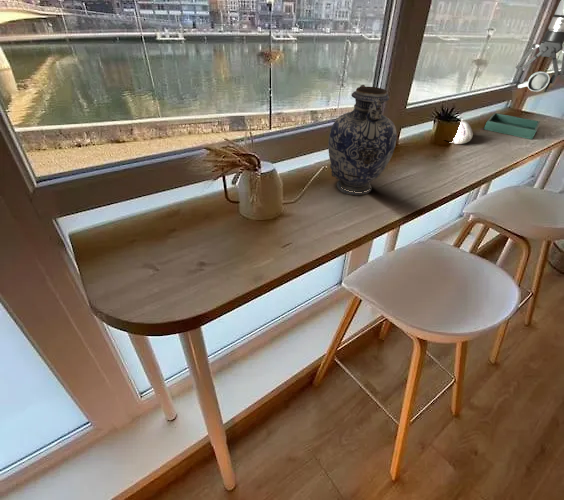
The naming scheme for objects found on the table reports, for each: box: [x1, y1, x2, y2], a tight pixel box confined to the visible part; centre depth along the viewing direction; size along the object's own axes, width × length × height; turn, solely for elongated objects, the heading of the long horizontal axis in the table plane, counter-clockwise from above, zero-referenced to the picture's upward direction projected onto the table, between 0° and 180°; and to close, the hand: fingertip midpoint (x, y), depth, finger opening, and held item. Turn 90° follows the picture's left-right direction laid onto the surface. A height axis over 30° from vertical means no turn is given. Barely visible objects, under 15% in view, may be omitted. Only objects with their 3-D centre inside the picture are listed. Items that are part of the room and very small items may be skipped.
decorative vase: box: [327, 84, 398, 196], centre depth 92 cm, size 21×19×28 cm
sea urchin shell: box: [450, 119, 474, 145], centre depth 135 cm, size 13×14×8 cm
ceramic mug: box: [517, 70, 551, 93], centre depth 145 cm, size 11×8×8 cm
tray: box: [483, 112, 541, 140], centre depth 150 cm, size 20×18×4 cm
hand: (530, 89), depth 147 cm, fingers closed on ceramic mug, 11 cm apart
